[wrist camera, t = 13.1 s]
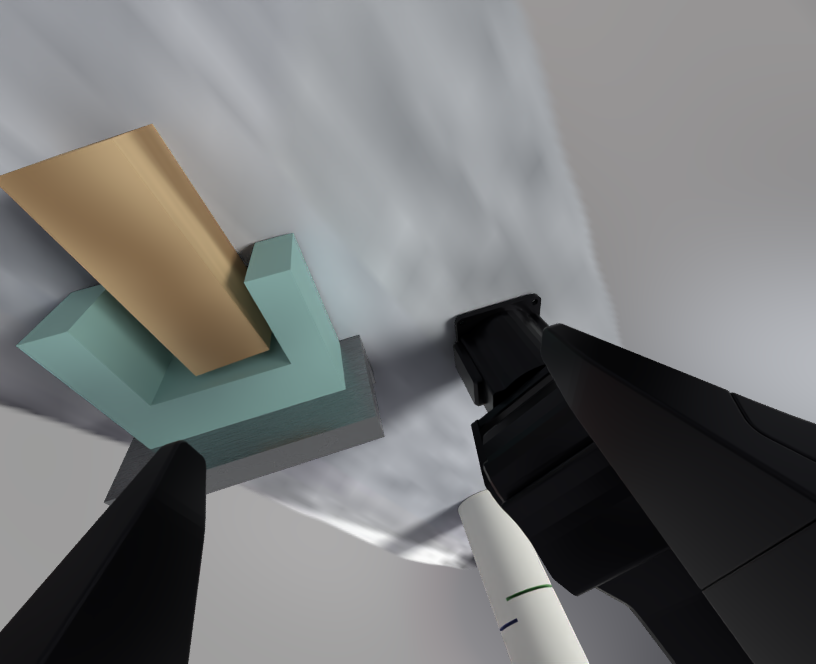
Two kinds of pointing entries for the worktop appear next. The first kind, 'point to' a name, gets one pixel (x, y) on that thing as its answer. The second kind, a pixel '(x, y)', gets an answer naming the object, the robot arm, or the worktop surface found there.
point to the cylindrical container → (518, 587)
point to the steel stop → (280, 432)
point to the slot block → (170, 379)
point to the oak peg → (148, 244)
